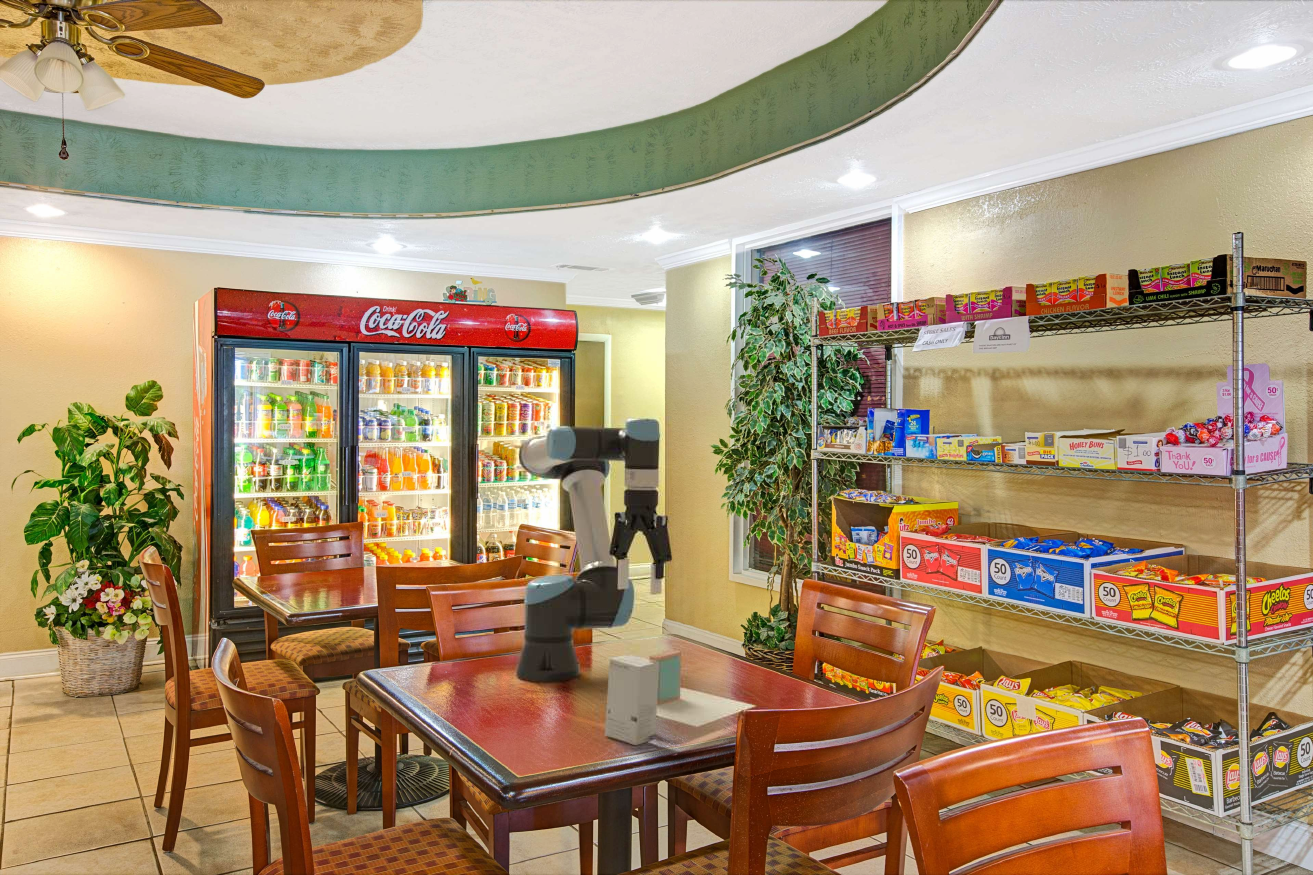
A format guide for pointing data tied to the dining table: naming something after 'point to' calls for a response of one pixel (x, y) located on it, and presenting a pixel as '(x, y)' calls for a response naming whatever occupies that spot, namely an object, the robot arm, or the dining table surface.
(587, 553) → the robot arm
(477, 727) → the dining table surface
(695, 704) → the mat
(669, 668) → the tile
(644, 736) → the skincare box
